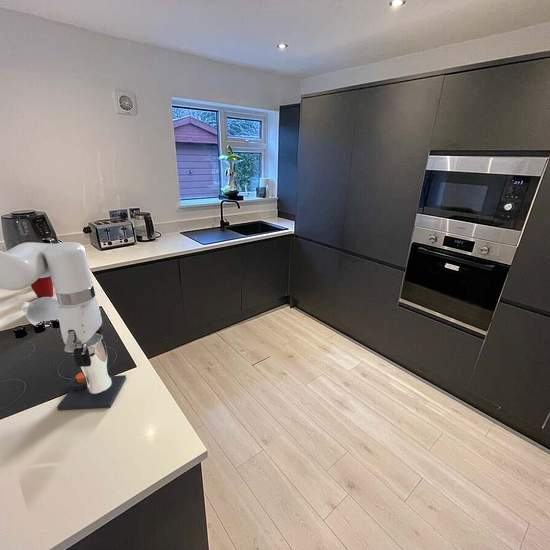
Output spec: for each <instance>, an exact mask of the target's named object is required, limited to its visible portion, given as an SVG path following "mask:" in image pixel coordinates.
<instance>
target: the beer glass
mask: <svg viewBox="0 0 550 550" xmlns="http://www.w3.org/2000/svg"><path fill="white" fill-rule="evenodd" d="M103 337H104V336H103ZM103 337H102V335H101V334H99V333H94V335H93V336H92V337H91V338H90V339H89V340H88V341H87V342H86V352H88V353H89V357H90V361H91V365H90V366H87V367H78V368H79V370H80V373H81V372H82V373H83V375H84V377H85V379H86V389H87V392H88V393H90V394H98V393H101V392H103V391H105V390H107V389H108V388H109V387H110V386H111V384H112V379H111V377H110V376H111V375H110V373H109V369H108V368H109V367H108V366H109V365H108V363H109V362H108V361H109V360H108V359H109V358H108V357H109V356H108V350H107V346H106V342H105V339H104V340H103ZM76 341H81V340H79V339H76ZM104 342H105V343H104ZM77 348H79V349H81V344H77Z"/></svg>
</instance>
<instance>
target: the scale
mask: <svg viewBox="0 0 550 550" xmlns="http://www.w3.org/2000/svg"><path fill="white" fill-rule="evenodd" d="M109 376H110V377H111V379H112V384H111V386H110V387H109V388H108V389H107V390H105V391H103V392H101V393H98V394H90V393H88V392H87V389H86V382H83V383H78V382H77V380H76V375H75V376H73V377H72V378H71V379H70V387H71V388H70V390H68V391H67V393H66V394H65V396H64V397H63V398H62V400H61V401H60V402H59V404H58V405H57V406H56V408H57V411H60V412H62V411H77V410H94V409H95V410H96V409H97V410H98V409H111V408H112V406H113V404H114V402H115V401H116V399H117V397H118V396H119V393H120V391H121V390H122V389H123V386H124V384H125V382H126V380H127V375H126V374H122V375H109Z"/></svg>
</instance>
